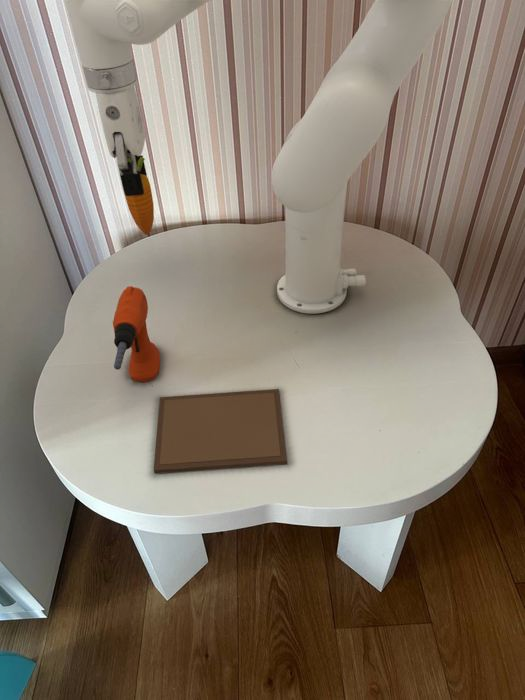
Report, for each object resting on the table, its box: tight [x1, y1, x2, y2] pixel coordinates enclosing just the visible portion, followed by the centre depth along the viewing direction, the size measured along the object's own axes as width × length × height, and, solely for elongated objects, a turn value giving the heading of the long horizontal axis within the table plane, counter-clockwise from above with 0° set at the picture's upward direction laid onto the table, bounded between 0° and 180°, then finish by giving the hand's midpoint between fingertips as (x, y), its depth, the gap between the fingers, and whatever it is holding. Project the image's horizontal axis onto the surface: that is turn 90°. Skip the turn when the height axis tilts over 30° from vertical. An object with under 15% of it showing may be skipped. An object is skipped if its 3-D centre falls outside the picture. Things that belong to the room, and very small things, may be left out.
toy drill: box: [112, 285, 161, 383], centre depth 82 cm, size 5×19×15 cm, turn 3°
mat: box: [153, 388, 288, 474], centre depth 81 cm, size 18×13×1 cm
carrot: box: [121, 156, 155, 236], centre depth 98 cm, size 5×5×15 cm
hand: (136, 185), depth 97 cm, fingers closed on carrot, 4 cm apart
